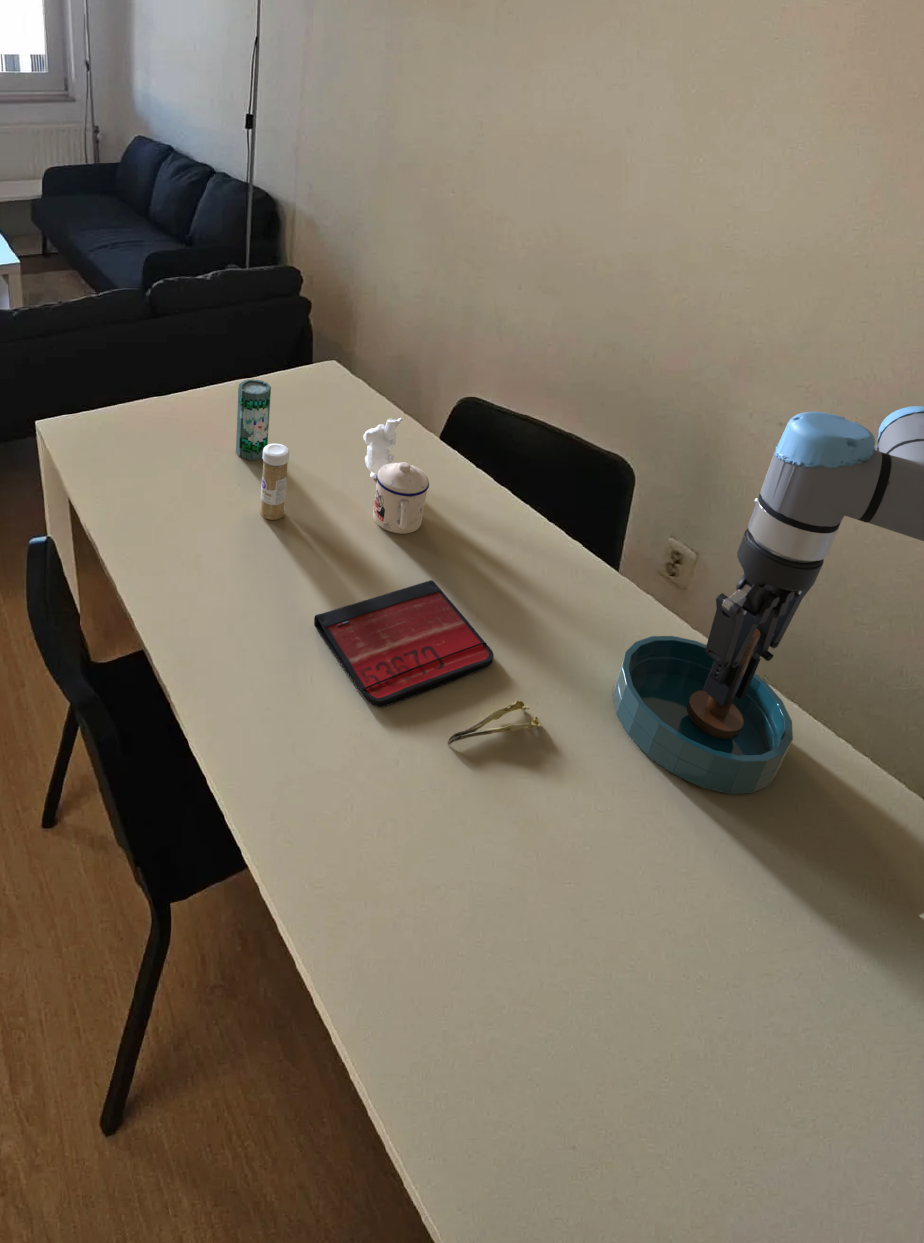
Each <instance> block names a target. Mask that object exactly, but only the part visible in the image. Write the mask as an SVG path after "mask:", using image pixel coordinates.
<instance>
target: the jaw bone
mask: <svg viewBox="0 0 924 1243" xmlns="http://www.w3.org/2000/svg"><path fill="white" fill-rule="evenodd" d="M530 709H531V708H530V707H529V706H527V705H526V704H525V702H524V701H523V700H518V699H516V700H515V701H513V702H512V703H511V704H509V705H507V706H504V707H501V708H499V709H497V710H495V711H493V712H491V713H490V714H488V715H487V716H485V717H484V718H482V719H481V720H480V721H479V722H478V723H476V724H475V725H473V726H471V727H469V728H467V729H465V730H462V731H459V732H456V733H453V734H452V735H451V736H450V737H449V739H448V740H447V746H450V745H451V744H452V743H455V742H458V741H461V740H462V741H463V740H465V739H469V738H472V737H479V736H485V735H491V734H499V733H505V734H506V733H512V732H517V731H522V730H530V729H536V728H539V727H541V726H542V723H541V722H540V721H539V719H538V716H535V717H534V718H533V719H532V720H531V723H530V722H525V723H515V724H514V723H512V724H507V725H505V726H501V727H495V728H484V729H481V728H482V727H484V726H485V725H487V724H488V723H490V722H492V721H496V720H500V718H502V717H503V716H504V715H506V714H508V713H510V712H513V711H517V710H522V711H526V710H530ZM479 729H480V730H479Z"/></svg>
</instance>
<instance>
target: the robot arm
mask: <svg viewBox="0 0 924 1243" xmlns="http://www.w3.org/2000/svg"><path fill="white" fill-rule="evenodd" d="M877 434H878V437H877V444H876V438H875V436H874V434H873V432H871V431H870V430H869V429H868V428H867V427H865V426H864V425H862V424H860V423H858V422H856V421H851V420H848V419H846V418H845V417H844V416H841V415H837V414H833V413H828V412H823V411H822V412H821V411H805V412H804V411H803V412H800V413H797V414H795V415H794V416H792V417H791V418H790V419H789V421H788V422H787V424H786V425H785V429H784V431H783V432H782V435H781V437H780V439H779V441H778V443H777V444H776V445H775V450H774V452H773V455H772V457H771V460H770V464H769V466H768V469H767V472H766V474H765V478H764V479H763V483H762V486H761V489H760V490H759V491H760V492H759V494H758V496H757V497H756V498H755V499H754V502H753V503H754V505H755V506H754V508H753V511H752V514H751V516H750V519H749V522H748V525H747V527H748V528H746V530H744V533H743V536H742V538H741V540H740V544H739V546H738V549H737V552H736V557H737V559H738V562H739V564H740V566H741V568H742V571H743V574H742V576H741V577H740V578H739V580H738V582H737V583H736V586H735V590H736V591H735V592H733V594H730V596H727V595H726V594H725V593H723V592H722V593H719V594H718V595H717V596H716V598H715V607H716V610H715V614H714V617H713V621H712V624H711V628H710V631H709V635H708V638H707V642H706V644H705V645H706V649H705V653H707V654H708V655H709V656H710V657H711V658H713V659H714V662H713V665H712V667H711V670H710V673H709V675H708V678H707V680H706V683H705V685H704V688H703V690H704V691H705V692H707V693H708V694H709V695H710V696H711V697H712V698H713V699H715V700H716V701H717V702H718V703H719V704H720V705H721V706H722V707H723V706H725V705H727V703H728V701H729V699H730V696H731V694H732V691H733V689H734V686H735V684H736V682H737V679H738V677H739V674H740V672H741V669H742V667H743V666H742V665H741V664H740V663H739V662H740V660H741V658H742V656H743V654H744V652H745V650H746V648H747V646H748V644H749V642H750V640H751V638H752V636H753V634H754V632H755V630H756V628H757V629H758V630H759V631H760V633H761V635H760V638H759V640H758V643H757V645H756V647H755V650H754V652H753V655H752V657H751V660H750V662H749V664H748V667H747V669H746V672H745V674H744V676H743V679H742V681H741V684H740V686H739V688H738V691H737V693H736V696H737V697H738V698H739V699H742V698H744V697H745V695H746V692H747V690H748V688H749V685H750V683H751V681H752V678H753V676H754V674H755V673H756V671H757V669H758V666H759V664H760V662H761V658H762V659H764V660H765V661H766V662H770V661H771V660H772V659H773V658H774V656H775V655H774V654H773V653H771V652H770V651H769V649H770V648H771V649H772V650H773V649H776V648H778V647H779V645H780V644H781V641H782V639H783V637H784V635H785V634H786V631H787V629H788V627H789V626H790V624H791V622H792V620H793V618H794V616H795V614H796V612H797V610H798V608H799V606H800V604H801V603H802V600H803V599H804V598H805V597H806V595H807V593H808V592H809V591H810V590H811V589H812V587H813V586H814V585H815V583H816V581H817V578H818V577H819V574H820V571H821V569H822V567H823V565H824V562H825V561H824V560H825V559H826V558H827V557H828V555H829V552H830V550H831V548H832V546H833V543H834V540H835V539H836V536H837V533H838V531H839V528H840V526H841V524H842V521H843V519H844V518H845V517H847V518H851V519H853V520H857V521H860V522H863V523H867V524H871V525H873V526H877V527H880V528H882V529H886V530H888V531H891V532H894V533H898V534H900V535H904V536H906V537H910V538H913V539H916V540H919V541H922V542H924V406H922V405H913V406H906V407H902V408H900V409H897V410H894V411H893V412H891V413H889V415H887V416H886V417H885V418H884V419H883V420H882V422H881V423H880V426H879V427H878V433H877ZM875 446H876V448H875Z"/></svg>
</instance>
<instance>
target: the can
mask: <svg viewBox="0 0 924 1243" xmlns="http://www.w3.org/2000/svg"><path fill="white" fill-rule="evenodd" d="M271 393H272V386H271V385H270V384H269V383H268V382H267V381H264V380H261V379H254V378H253V379H246V380H243V381H241V382H240V383H239V384H238V389H237V411H236V413H237V414H236V438H235V439H236V440H235V441H236V442H235V453H236V454H237V455H238V457H239V458H241V459H244V460H247V461H257V460H263V449H264V447H265V446H267V445H269V430H270V429H269V428H270V410H271V409H270V408H271V395H272V394H271Z"/></svg>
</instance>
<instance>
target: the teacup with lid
mask: <svg viewBox="0 0 924 1243" xmlns="http://www.w3.org/2000/svg"><path fill="white" fill-rule="evenodd" d="M375 479H376V487H375V495H374V503H373V509H372V510H373V511H372V517H373V520H374V522H375V523H376V524H377V525H378V526H379V527H380V528H382V529H383V530H385V531H387V532H390V533H394V534H401V535H403V534H404V535H405V534H410V533H413V532H415V531H417V530H418V529H419V528H421V526H422V522H423V516H424V511H425V504H426V498H427V491H428V489H429V488H430V480H429V477H428V476H427V474H426V473H425V472H424V471H423V470H422V469H420V468H419V467H417V466H415V465H412V464H410V463H408V462H407V461H400V462H393V463H390V464H387V465H384V466H383V467H381V468H380V469H379V471H378V473H377V476H376V478H375Z"/></svg>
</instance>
